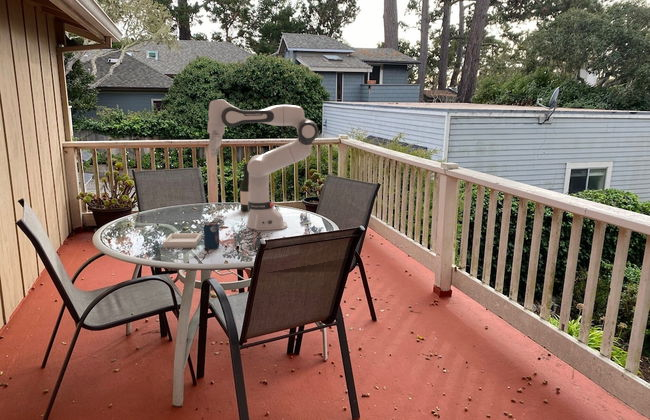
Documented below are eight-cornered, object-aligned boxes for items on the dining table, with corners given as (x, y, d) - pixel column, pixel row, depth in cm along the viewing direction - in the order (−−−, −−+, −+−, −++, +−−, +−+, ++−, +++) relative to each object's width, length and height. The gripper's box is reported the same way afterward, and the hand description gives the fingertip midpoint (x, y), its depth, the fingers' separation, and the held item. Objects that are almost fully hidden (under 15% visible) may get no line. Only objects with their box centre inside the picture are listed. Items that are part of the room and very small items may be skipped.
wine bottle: (248, 211, 308) (246, 164, 302) (238, 210, 312) (236, 163, 306) (256, 209, 315) (255, 162, 309) (246, 207, 319) (245, 161, 313)
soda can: (220, 249, 231) (219, 224, 228) (205, 250, 229) (203, 225, 226) (218, 245, 237) (218, 221, 235) (204, 246, 236) (203, 222, 233)
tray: (201, 239, 248) (201, 233, 247) (196, 247, 233) (195, 241, 233) (171, 239, 247) (170, 233, 246) (163, 248, 232) (163, 241, 231)
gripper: (219, 132, 251) (217, 159, 254) (224, 129, 271) (222, 154, 273) (206, 130, 250) (205, 157, 253) (212, 128, 270) (211, 153, 273)
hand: (214, 156), depth 263 cm, fingers open, 8 cm apart
